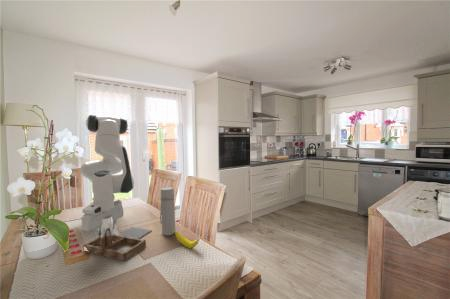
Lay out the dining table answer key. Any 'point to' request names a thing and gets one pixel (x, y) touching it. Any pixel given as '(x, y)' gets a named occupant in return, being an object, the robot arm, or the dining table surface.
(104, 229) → the beer glass
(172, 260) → the dining table surface
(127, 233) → the charcoal mat
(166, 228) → the water bottle
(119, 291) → the dining table surface
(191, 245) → the banana
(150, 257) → the dining table surface
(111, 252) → the frame
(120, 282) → the dining table surface
